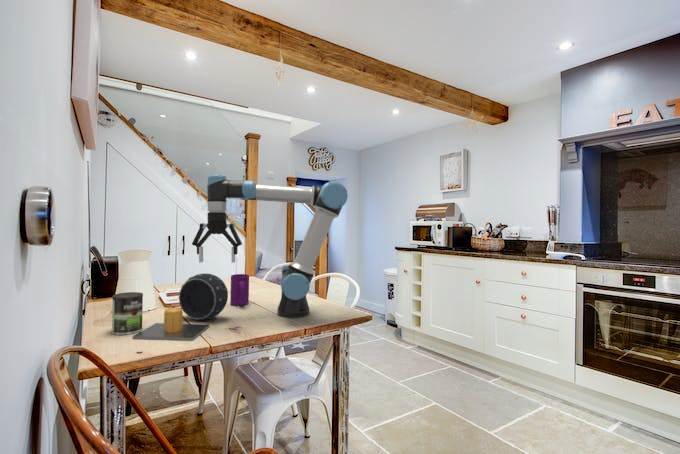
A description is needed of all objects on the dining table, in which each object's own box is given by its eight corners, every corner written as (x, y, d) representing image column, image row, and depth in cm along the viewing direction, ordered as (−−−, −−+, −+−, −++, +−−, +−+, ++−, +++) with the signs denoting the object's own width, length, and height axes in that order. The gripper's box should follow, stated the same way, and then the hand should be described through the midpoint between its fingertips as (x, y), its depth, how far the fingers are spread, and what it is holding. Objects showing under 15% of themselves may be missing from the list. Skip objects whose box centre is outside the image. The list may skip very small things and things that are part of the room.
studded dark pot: (217, 324, 147) (218, 277, 147) (175, 320, 151) (175, 274, 151) (230, 317, 158) (231, 273, 157) (190, 314, 162) (191, 270, 161)
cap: (184, 327, 139) (184, 307, 138) (177, 332, 133) (177, 311, 132) (169, 327, 139) (169, 307, 138) (161, 332, 133) (161, 311, 132)
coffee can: (148, 329, 138) (148, 294, 138) (120, 336, 130) (120, 299, 129) (134, 325, 144) (134, 290, 143) (106, 331, 135) (106, 295, 135)
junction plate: (209, 327, 144) (209, 310, 143) (192, 340, 128) (192, 321, 127) (156, 325, 144) (156, 308, 144) (132, 338, 128) (132, 319, 128)
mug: (247, 301, 188) (247, 273, 188) (252, 308, 174) (252, 278, 174) (229, 302, 185) (229, 274, 184) (233, 310, 170) (233, 279, 170)
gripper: (249, 212, 151) (249, 261, 152) (191, 211, 151) (191, 261, 152) (244, 212, 144) (244, 263, 144) (183, 211, 144) (183, 263, 144)
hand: (217, 262), depth 148 cm, fingers open, 13 cm apart
